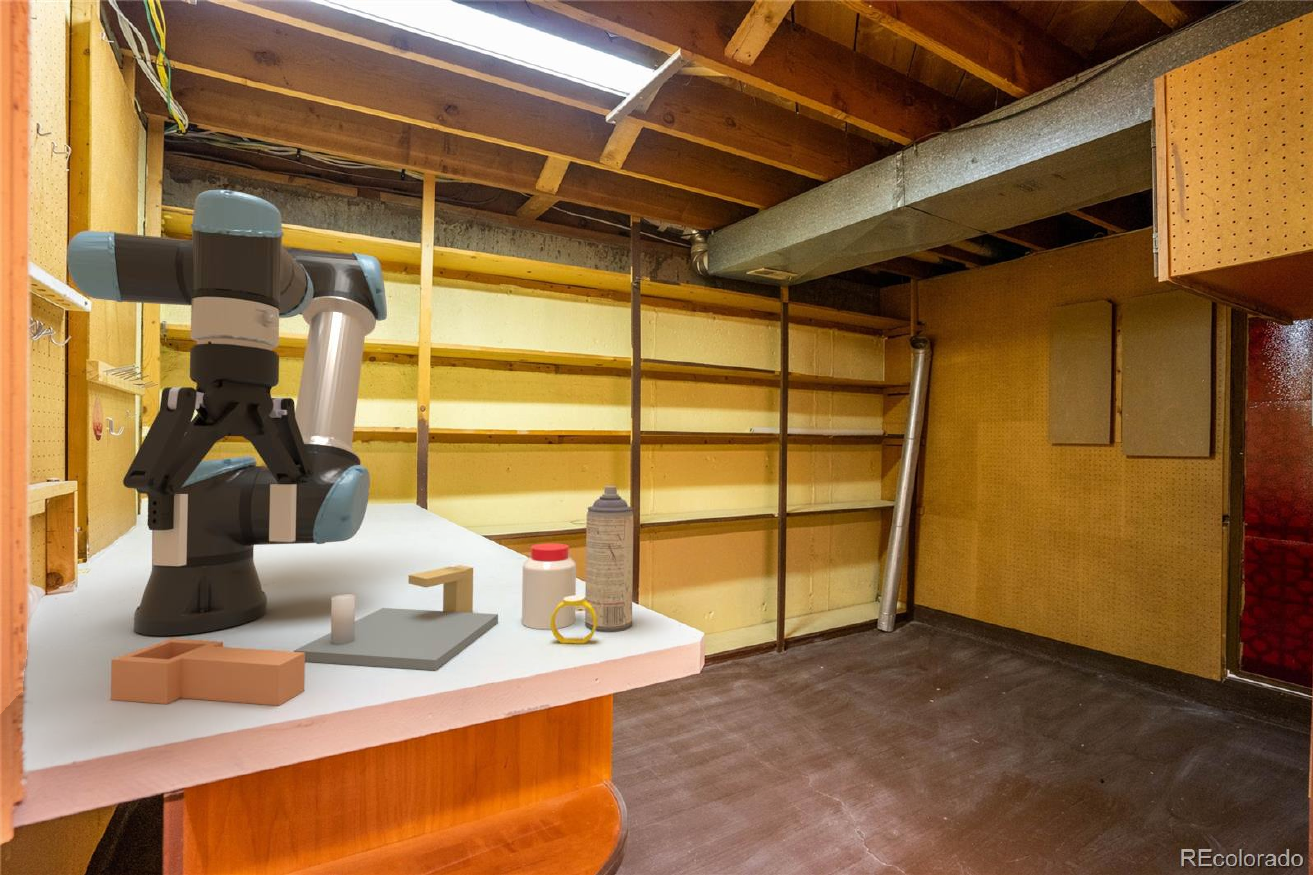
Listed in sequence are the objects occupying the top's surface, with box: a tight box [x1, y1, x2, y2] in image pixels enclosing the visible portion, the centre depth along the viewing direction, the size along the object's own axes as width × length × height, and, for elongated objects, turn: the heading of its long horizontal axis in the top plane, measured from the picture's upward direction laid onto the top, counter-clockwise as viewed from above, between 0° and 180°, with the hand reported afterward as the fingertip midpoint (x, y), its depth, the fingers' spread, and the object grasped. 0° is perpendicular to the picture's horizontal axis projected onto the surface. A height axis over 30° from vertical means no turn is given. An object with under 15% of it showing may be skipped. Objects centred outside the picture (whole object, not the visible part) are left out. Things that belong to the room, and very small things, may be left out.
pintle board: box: [292, 564, 499, 672], centre depth 79 cm, size 18×22×7 cm
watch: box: [550, 595, 597, 645], centre depth 78 cm, size 6×3×6 cm, turn 91°
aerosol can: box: [584, 485, 634, 633], centre depth 85 cm, size 7×7×20 cm
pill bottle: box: [521, 542, 577, 630], centre depth 86 cm, size 8×8×11 cm
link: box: [110, 638, 306, 707], centre depth 61 cm, size 17×6×4 cm, turn 83°
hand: (232, 552), depth 61 cm, fingers open, 13 cm apart
